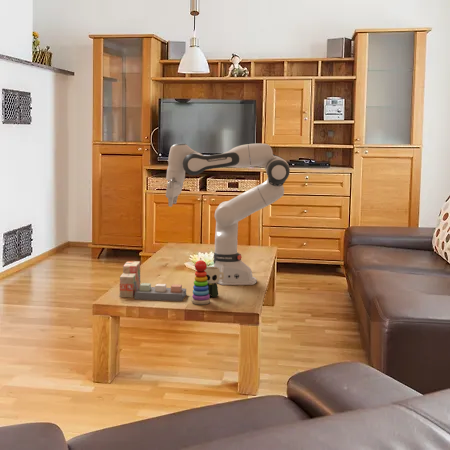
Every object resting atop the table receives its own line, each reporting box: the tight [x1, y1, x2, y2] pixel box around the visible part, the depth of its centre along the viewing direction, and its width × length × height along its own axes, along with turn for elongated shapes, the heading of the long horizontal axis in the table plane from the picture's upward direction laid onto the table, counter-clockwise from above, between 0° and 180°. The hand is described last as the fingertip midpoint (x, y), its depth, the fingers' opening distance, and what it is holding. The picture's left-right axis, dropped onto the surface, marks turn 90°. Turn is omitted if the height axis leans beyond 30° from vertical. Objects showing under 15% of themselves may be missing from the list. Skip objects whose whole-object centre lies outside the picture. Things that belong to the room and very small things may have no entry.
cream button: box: [154, 283, 167, 292], centre depth 300 cm, size 4×4×3 cm
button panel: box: [134, 286, 187, 302], centre depth 300 cm, size 21×11×3 cm, turn 84°
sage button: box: [140, 282, 152, 291], centre depth 301 cm, size 4×4×3 cm
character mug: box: [205, 266, 224, 298], centre depth 302 cm, size 11×7×13 cm, turn 88°
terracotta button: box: [170, 283, 183, 293], centre depth 299 cm, size 4×4×3 cm
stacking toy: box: [191, 259, 211, 306], centre depth 290 cm, size 8×8×19 cm
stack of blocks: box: [119, 260, 141, 298], centre depth 309 cm, size 21×6×12 cm, turn 179°
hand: (172, 205), depth 328 cm, fingers open, 8 cm apart
